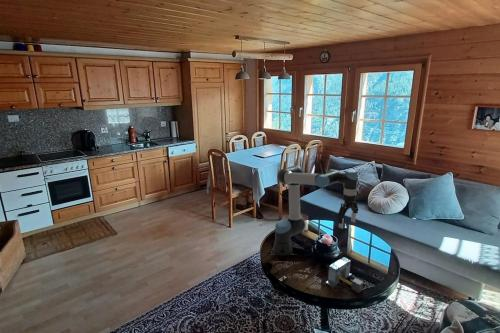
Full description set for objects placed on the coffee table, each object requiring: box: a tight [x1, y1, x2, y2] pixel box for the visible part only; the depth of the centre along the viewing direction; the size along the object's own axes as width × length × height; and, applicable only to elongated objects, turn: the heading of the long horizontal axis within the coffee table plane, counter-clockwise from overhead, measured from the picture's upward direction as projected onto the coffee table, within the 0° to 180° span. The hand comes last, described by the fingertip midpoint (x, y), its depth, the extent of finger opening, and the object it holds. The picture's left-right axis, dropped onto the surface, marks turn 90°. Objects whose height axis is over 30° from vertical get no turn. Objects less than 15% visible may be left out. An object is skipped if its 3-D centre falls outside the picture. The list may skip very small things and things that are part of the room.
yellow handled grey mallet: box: [339, 276, 364, 294], centre depth 183 cm, size 19×4×6 cm, turn 38°
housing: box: [325, 256, 352, 288], centre depth 187 cm, size 6×20×12 cm, turn 128°
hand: (347, 224), depth 188 cm, fingers open, 13 cm apart
